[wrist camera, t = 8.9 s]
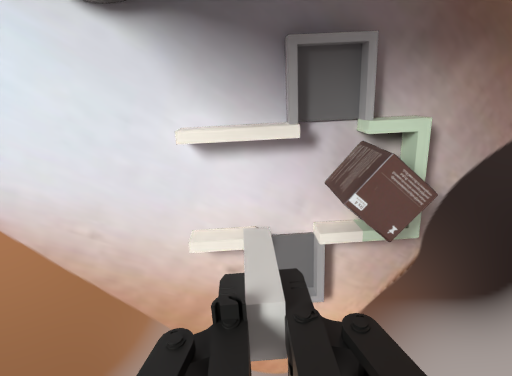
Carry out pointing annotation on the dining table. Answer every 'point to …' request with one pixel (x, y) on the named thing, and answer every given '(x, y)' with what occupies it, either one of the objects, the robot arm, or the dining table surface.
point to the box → (380, 189)
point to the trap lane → (320, 109)
